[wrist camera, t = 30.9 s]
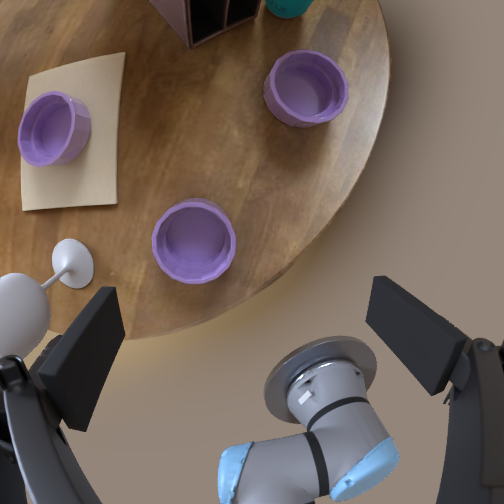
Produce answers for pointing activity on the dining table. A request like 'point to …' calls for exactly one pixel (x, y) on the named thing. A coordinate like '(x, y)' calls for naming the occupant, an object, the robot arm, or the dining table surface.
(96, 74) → the placemat
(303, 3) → the beverage can
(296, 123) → the dish
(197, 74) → the dining table surface
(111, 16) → the dining table surface
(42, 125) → the dish
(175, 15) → the letter holder
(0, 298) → the wineglass
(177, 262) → the dish
